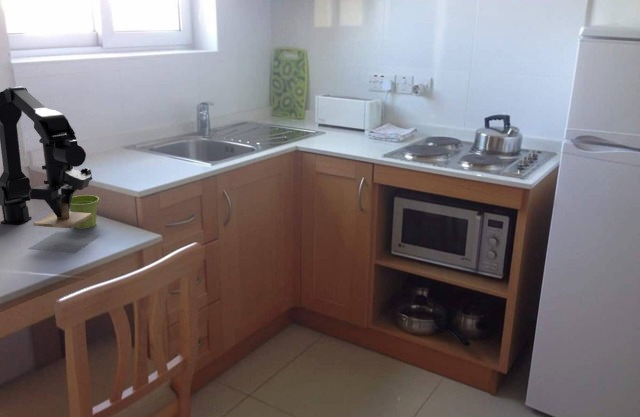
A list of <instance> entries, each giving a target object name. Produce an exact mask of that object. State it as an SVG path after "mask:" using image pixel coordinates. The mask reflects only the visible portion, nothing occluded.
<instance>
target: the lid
mask: <svg viewBox="0 0 640 417" xmlns="http://www.w3.org/2000/svg"><path fill="white" fill-rule="evenodd" d="M91 216H92V213H81V212H71V211H70V208H69V209H68V203H62V216H61V217H57V216H56V215H55V213H54V212H53V211H52V212H51V213H50V214H47V215H45V216H44V217H42V218H40V219H38V220H36V221H35V222H33V224H32V226H33V227H43V228H45V227H46V228H47V227H48V228H59V229H73V228H76V227H75V226H76V225H78V224H80V223H81V222H83V221H85V220H86V219H88V218H89V217H91Z"/></svg>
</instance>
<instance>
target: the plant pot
mask: <svg viewBox="0 0 640 417" xmlns="http://www.w3.org/2000/svg"><path fill="white" fill-rule="evenodd" d="M99 201H100V197H99V196H97V195H91V194H83V195H75V196H74V195H73V196H72V199H71V204H70V208H69V212H81V213H92V216H91V217H89V218H88V219H86V220H85V221H83V222H81V223H80V224H78V225H76V226H75V227H74V228H76V229H83V230H84V229H90V228H92V227H95V226H96V224H97V213H98V212H97V210H98V204H99Z"/></svg>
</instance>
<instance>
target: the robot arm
mask: <svg viewBox="0 0 640 417" xmlns="http://www.w3.org/2000/svg"><path fill="white" fill-rule="evenodd" d="M23 113H24V114H25V115H26V116H27V117H28V118H29V119H30V120H31V121H32V122H33V129H34V130H35V131H36V133H37V134H38V136H39V137H40V139H39V140H38V141H39V143H40V144H42V150H43V158H44V164H43V165H41V169H42V170H45V174H46V179H44V180H43V184H44V185H43V184H42V185H41V184H40V185H37V186H35V187H32V186H31V179H30V178H29V177H27V176H26V175H25V173H24V172H23V170H22V163H21V162H22V161H21V160H22V159H21V153H20V144H19V141H20V140H19V133H18V123H19V121H20V119H21V118H22V115H23ZM0 151H1V159H2V169H3V170H2V173H1V175H0V206H1V211H2V217H3V220H1V221H0V224H5V225H8V224H9V225H21V224H24V223H25V222H27V221H29V220H32V216H30V212H29V207H28V205H27V202H30V201H31V200H40V201H45V203H46V204H47V205H48V206H49V207H50V209H51V210H52V213H53V212H54V213H55V215H56V216H57V217H61V216H62V203H68V209H69V210H70V204H71V199H72V197H74V194H75V192H77V190H79V191H82V190H84V188H85V189H86V188H88V187H89V185H90V181H92V180H93V175H92V171H91V169H90V168H88V167H87V166H86V167H84V168H82V169H75V167H76V168H77V167H80V166H82V165H83V164H84V163H85V162H86V161H85V160H86V158H87V154H86V151H85V149H84V148H83V147H82V146H81V145H78V140H77V137H76V132H75V131H74V128H72V126H71V124H70V122H69V120H68V118H67V117H66V116H65V115H64V114H63V113H61V112H59V111H58V110H55V109H49V108H47V107H46V106H45V105H44V104H42V103H41V102H40V101H39V100H38V99H36V97H34V96H33V94H31V93H30V92H29V91H28V89H27V88H26V87H24V86H11V87H7V88H5V89H4V90H2V91H0Z"/></svg>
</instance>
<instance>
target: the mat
mask: <svg viewBox="0 0 640 417" xmlns="http://www.w3.org/2000/svg"><path fill="white" fill-rule="evenodd" d="M100 236H102V234H94V233H80V232H69V231H56V232H54V233H52V234H51V235H49V236H46V237H45V238H44V239H42V240H40V241H39V242H37V243H36V244H34V245H32V246H30V247H28V248H27V249H28V250H35V251H36V250H37V251H51V252H58V253H59V252H61V253H74V254H75V253H76V254H77V252H79V251H80V250H82V249H83V248H85V247H86V246H88V245H89V244H90V243H92V242H93V241H95V240H96V239H98V238H99V237H100Z"/></svg>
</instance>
